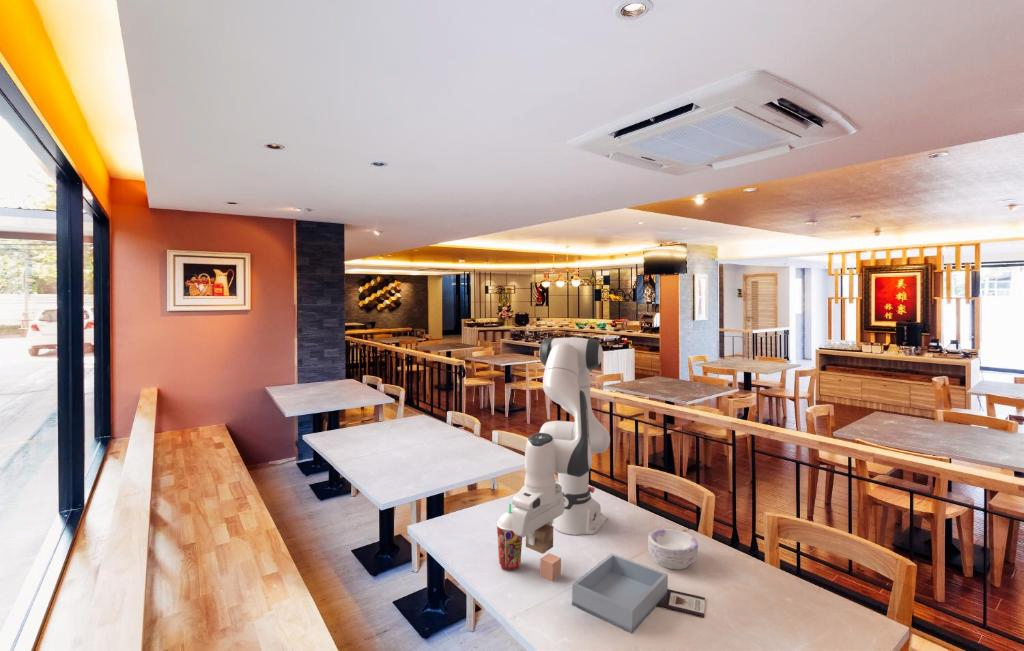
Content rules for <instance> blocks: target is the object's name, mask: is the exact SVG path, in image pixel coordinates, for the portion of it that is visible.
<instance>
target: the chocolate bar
mask: <svg viewBox="0 0 1024 651" xmlns="http://www.w3.org/2000/svg"><path fill="white" fill-rule="evenodd" d="M705 601H706V597H704V596H700V595H695V594H691V593H687V592H682V591H678V590H673V589H669V588H667V594H666V595H665V596H664V597H663V598H662V599H661V600H660V602H659V603H658V604H657V607H656V608H660V609H664V610H669V611H673V612H678V613H681V614H685V615H688V616H689V615H690V616H693V617H698V618H702V619H704V617H705V606H706V605H705V604H706V602H705Z"/></svg>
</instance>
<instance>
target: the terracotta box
mask: <svg viewBox="0 0 1024 651" xmlns="http://www.w3.org/2000/svg"><path fill="white" fill-rule="evenodd" d="M539 560H540V563H539V564H540V565H539V568H540V569H539V572H540V574H539V575H540V577H541V578H544V579H546V580H548V581H550V582H554V581H556V580H557V579H558V578H560V577H561V576H562V557H560V556H558V555H555V554H553V553H551V552H548V553H547V554H546V555H544V556H542V557H541V558H540V559H539Z"/></svg>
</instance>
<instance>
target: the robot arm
mask: <svg viewBox="0 0 1024 651" xmlns="http://www.w3.org/2000/svg"><path fill="white" fill-rule="evenodd" d="M538 351H539V352H538V354H539V360H540V362H541V364H542V365H544V371H543V376H542V377H543V378H542V390H543V392H544V393H545V395H546V396H547V398H549V399H550V400H551V401H552V402H554V403H555V404H558V405H559V406H560V407H561V408H562V409H563V410H564V411H565V412H566V413H568V414H570V415H571V416H572V417H573V418H574V421H568V420H567V421H566V420H551V421H546V422H544V423H543V424H542V426H540V430H539V432H536V433H533V434H530V435H529V436H528V438H527V439H526V444H525V451H524V471H525V477H524V481H523V482H524V485H522V487H521V488H520V489H519V491H518V492H517V493H515V494H514V496H513V498H512V500H511V501H512V503H511V504H512V505H513V509H512V512H513V513H512V530H513V532H514V534H516V535H518V536H520V537H522V538H526V536H528V538H529V544H530V545H534V544H536V543H537V538H536V537H534V535H533V534H534V533H535V530H537V529H538V528H540V527H542V526H543V525H545V524H548V525H551V526H553V529H555V530H556V531H557V532H559V533H563V534H566V535H567V534H568V535H572V536H573V535H575V536H578V535H595V534H596V533H597V532H598V531H599V530H600V529H601V527H602V526H603V525H604V523H605V522H606V521H607V519H608V516H606V514H604V513H603V512H601V511H602V509H601V505H600V503H599V502H598V501H597V500H595V499H594V498H593V497H592V494H594V492H595V491H596V490H595V489H596V488H595V487H594V486H590V485H589V475H590V474H589V473H590V471H591V468H592V466H593V465H592V464H593V455H594V454H595V455H596V454H602V453H605V452H606V451H607V450H608V448H609V447H610V443H611V436H610V433H609V430H608V429H607V428H606V426H605V425H603V424H602V423H601V422H600V421H599V420H598V419H597V417H596V415H595V414H594V411H593V409H592V408H593V407H592V403H591V402H592V401H591V373H590V372H592V371H593V370H594V369H596V368H598V367H599V366H600V365H601V362H602V360H603V357H604V356H603V354H604V352H603V347H602V344H601V342H600V341H599V340H598V339H594V338H583V337H578V336H577V337H575V336H571V337H556V338H555V337H548V338H545V339H544V340H543V341H542V342H541V343H540V347H539V350H538ZM555 473H557V479H558V483H556V476H555ZM591 493H592V494H591Z"/></svg>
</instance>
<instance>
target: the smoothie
mask: <svg viewBox="0 0 1024 651" xmlns="http://www.w3.org/2000/svg"><path fill="white" fill-rule="evenodd" d="M512 513H513V511H512V503H508V511H506V512H504V513H503V514H501V515H500V517H499V519H498V520H497V522H496V534H497V552H498V563H499V565H500V567H501V569H503V570H504V571H505V570H506V571H514V570H517V569H518V568H519V566H520V564H521V560H522V558H521V557H522V544H523V537H520V536H518V535H516V534H514V532H513V530H512Z"/></svg>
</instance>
